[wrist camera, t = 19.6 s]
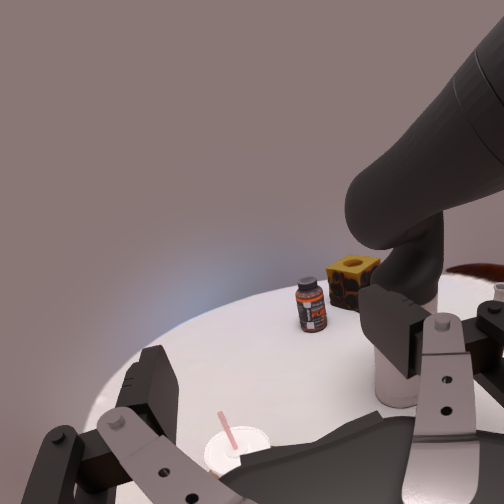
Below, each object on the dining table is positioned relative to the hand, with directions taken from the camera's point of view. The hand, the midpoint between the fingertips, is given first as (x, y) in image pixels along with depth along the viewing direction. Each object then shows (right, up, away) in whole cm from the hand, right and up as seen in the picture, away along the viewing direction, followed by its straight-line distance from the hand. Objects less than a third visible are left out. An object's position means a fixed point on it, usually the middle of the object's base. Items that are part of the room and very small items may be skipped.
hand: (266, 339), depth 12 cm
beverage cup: (0, -23, +14) cm, 27 cm away
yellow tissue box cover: (+25, -9, +62) cm, 68 cm away
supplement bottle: (+13, -13, +56) cm, 59 cm away
